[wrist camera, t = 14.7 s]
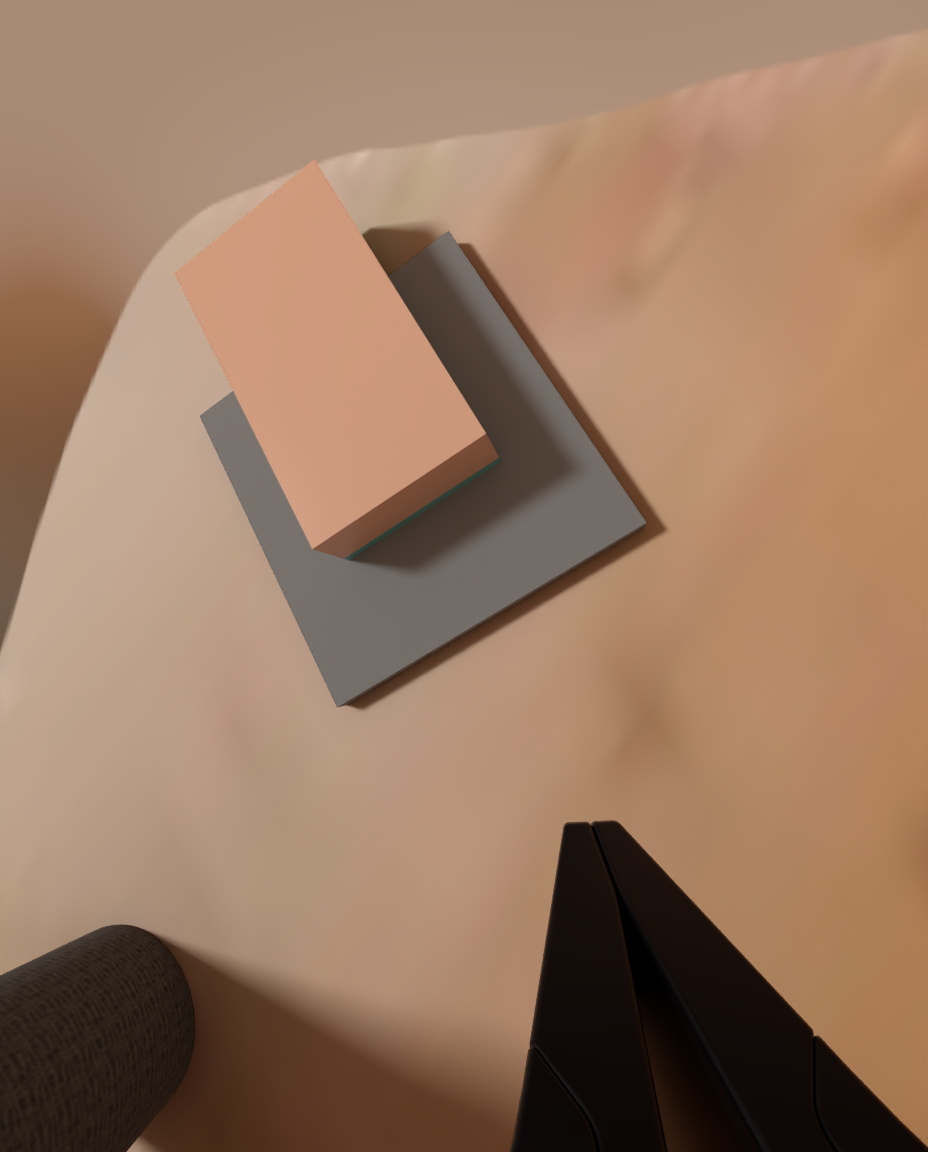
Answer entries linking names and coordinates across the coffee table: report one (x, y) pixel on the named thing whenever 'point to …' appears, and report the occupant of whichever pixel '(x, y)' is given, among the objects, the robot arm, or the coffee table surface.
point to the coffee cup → (91, 1043)
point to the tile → (332, 369)
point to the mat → (458, 522)
